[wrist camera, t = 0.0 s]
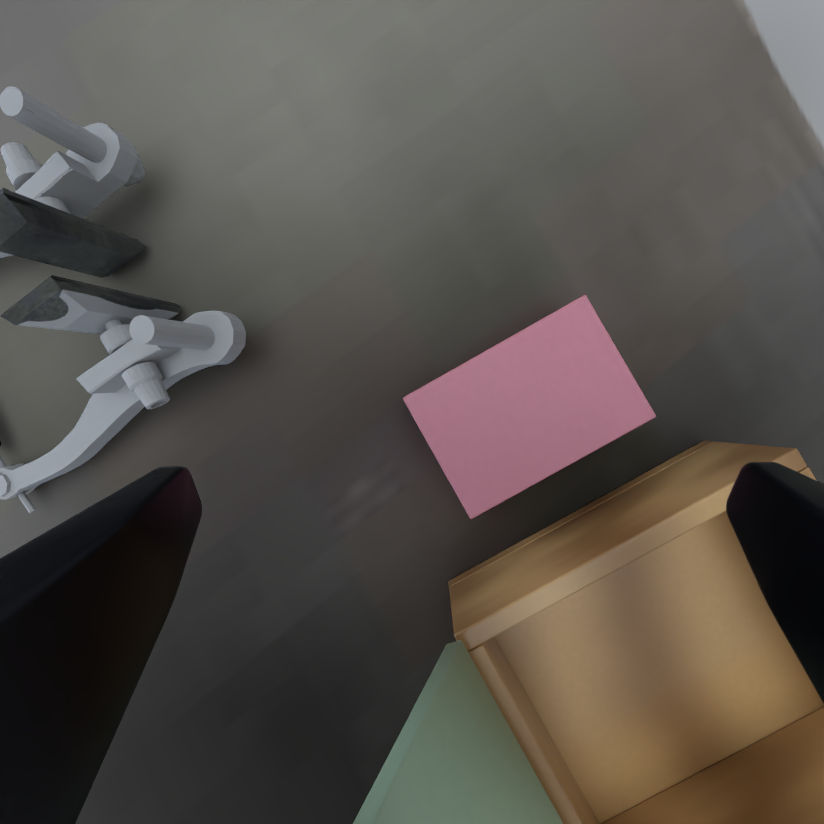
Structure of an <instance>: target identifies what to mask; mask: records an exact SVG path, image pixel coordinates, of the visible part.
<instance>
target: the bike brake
mask: <svg viewBox="0 0 824 824" xmlns="http://www.w3.org/2000/svg"><path fill="white" fill-rule="evenodd" d="M0 107H1V109H2V111H3V112H4V113H5V114H6V115H7V116H9V117H11V118H13V119H15V120H16V121H18V122H20V123H22V124H24V125H26V126H27V127H29V128H31V129H33V130H35V131H36V132H38V133H40V134H42V135H44V136H46V137H47V138H49V139H51V140H53V141H55V142H57V143H58V144H60V145H62V146H64V147H66V148H68V149H69V150H68V151H67V153H66V154H63V153H61V152H59V151H57V152H56V153H55V154H53V155H52V156H51V158H50V159H49V160H48V161H47V162H46V163H45V164H44V165H41V164H40V163H39V162H37V161H36V160H35V159H34V157H33V156H32V154H31V153H30V152H29V150H28V149H27V147H26V146H24V145H23V144H21V143H17V142H10V143H6V144H4V145H3V146H2V147H1V154H2V156H3V158H4V161H5V163H6V165H7V169H6V172H7V175H8V177H9V179H10V181H11V182H12V184H13V186H14V188H15V189H16V190H17V191H15V192H13V191H10V190H8V189H5V188H2V189H1V190H0V258H2V257H7V256H19V257H23V258H27V259H31V260H35V261H39V262H42V263H46V264H50V265H54V266H58V267H62V268H66V269H70V270H74V271H78V272H82V273H86V274H90V275H94V276H98V277H107V276H109V275H110V274H112V273H113V272H114V271H116V270H117V269H118V268H120V267H121V266H122V265H124V264H125V263H126V262H128V261H129V260H130V259H132V258H133V257H134V256H136V255H137V254H138V253H140V252H141V251H142V250H144V249H145V248H146V246H144V245H143V244H142V243H141V242H139V241H138V240H137V239H134V238H132V237H129V236H126V235H124V234H121V233H119V232H116V231H113V230H111V229H108V228H106V227H103V226H101V225H98V224H95V223H93V222H90V221H88V220H85V219H83V218H84V217H85V216H87V215H88V214H89V213H91V212H92V211H93V210H94V209H96V208H97V207H98V206H99V205H100V204H101V203H103V202H104V201H105V200H106V199H107V198H108V197H110V196H111V195H112V194H114V193H115V192H116V191H117V190H119V189H120V188H121V187H122V186H129V185H132V184H134V183H139V182H141V181H142V180H143V178H144V176H145V170H144V167H143V166H142V161H141V159H140V157H139V155H138V154H137V153H136V148H135V147H134V146H133V145H132V144H131V142H130V141H129V140H128V139H127V138H126V137H125V136H123V135H122V134H120V133H119V132H117V131H116V130H114V129H113V128H111V127H110V126H108V125H106V124H103V123H95V124H91V125H88V126H86V127H84V128H83V127H81V126H79V125H78V124H76V123H74V122H73V121H71V120H69V119H68V118H66V117H64V116H63V115H61V114H59V113H58V112H56V111H54V110H53V109H51V108H49V107H48V106H46V105H44V104H43V103H41V102H40V101H38V100H36V99H35V98H33V97H31V96H30V95H28V94H26V93H25V92H23V91H21V90H20V89H18V88H16V87H13V86H12V87H7V88H6V89H5V90H4V91H3V92H2V93H1V97H0ZM179 310H180V306H179V305H177V304H174V303H170V302H166V301H161V300H157V299H153V298H148V297H144V296H140V295H135V294H131V293H127V292H122V291H118V290H113V289H109V288H105V287H100V286H96V285H92V284H87V283H83V282H79V281H74V280H70V279H66V278H61V277H57V276H53V275H52V276H51V277H49V278H48V279H47V280H45V281H44V282H43V283H42V284H40V285H39V286H38V287H36V288H35V289H34V290H33V291H31V292H30V293H29V294H27V295H26V296H25V297H24V298H22V299H21V300H20V301H18V302H17V303H16V304H15V305H13V306H12V307H11V308H9V309H8V310H7V311H5V312H4V313H3V314H2V315H1V317H3V318H5V319H6V320H8V321H10V322H11V323H13V324H14V325H22V326H31V327H40V328H49V329H58V330H68V331H77V332H86V333H96V334H102V335H101V337H100V339H101V341H102V343H103V344H104V346H105V348H106V349H107V351H108V353H110V354H111V355H109V356H108V357H106V358H105V359H104V360H102V361H101V362H99V363H98V364H96V365H95V366H93V367H92V368H90V369H89V370H87V371H86V372H84V373H83V374H82V375H80V376H79V377H77V378H76V379H77V380H78V381H79V383H80V384H81V385H82V386H83V387H84V388H85V389H86V390H87V391H88V392H89V393H91V394H93V395H92V397H91V398H90V400H89V402H88V404H87V406H86V408H85V410H84V412H83V414H82V416H81V417H80V419H79V421H78V422H77V424H76V426H75V428H74V429H73V430H72V431H71V432H70V433H69V434H68V435H67V436H66V437H65V438H64V440H63V441H62V442H61V443H60V444H59V445H57V446H56V447H55V448H54V449H53V450H52V451H50V452H49V453H47V454H45V455H44V456H42V457H40V458H39V459H37V460H35V461H32V462H30V463H28V464H22V463H21V464H14V465H10V466H9V467H7V466H6V464H5V463H4V461H3V460H2V458H1V457H0V499H3V500H4V499H9V498H13V497H15V496H18V497H19V499H20V500H21V502H22V503H23V505H24V506H25V508H26V509H27V511H28V512H29V513H32V512H34V511H36V509H35V507H34V506H33V504H32V503H31V501H30V500H29V498H28V497H27V495H26V494H28V493H30V492H31V491H33V490H34V489H35V488H36V487H37V486H39V485H40V484H42V483H44V482H47V481H49V480H51V479H54V478H56V477H58V476H60V475H63V474H65V473H67V472H69V471H71V470H73V469H75V468H77V467H79V466H81V465H82V464H83V463H85V462H86V461H88V460H89V459H91V458H92V457H93V456H94V455H95V454H96V453H97V452H99V451H100V450H101V449H102V448H103V446H104V445H105V444H106V443H107V442H108V441H110V440H111V439H112V438H113V437H114V436H115V435H116V434H117V433H118V432H119V431H120V430H121V429H122V428H123V427H124V426H125V425H126V424H127V423H128V422H129V421H130V420H131V419H132V418H133V417H134V416H136V415H137V414H138V413H139V412H140V411H141V410H142V409H143V408H144V407H146V409H154V408H157V407H160V406H162V405H164V404H166V403H167V402H168V401H169V400H170V398H169V396H168V393H167V391H166V390H167V389H168V388H169V387H170V386H172V385H173V384H175V383H176V382H177V381H179V380H180V379H182V378H184V377H186V376H188V375H190V374H192V373H194V372H197V371H199V370H201V369H204V368H207V367H210V366H214V365H224V364H229V363H231V362H232V361H234V360H235V359H236V358H237V356H238V355H239V354H240V353H241V351H242V349H243V348H244V346H245V342H246V331H245V328H244V326H243V323H242V321H241V320H240V319H238V318H237V317H236V316H235V315H234V314H231V313H226V312H222V311H202V312H197V313H195V314H193V315H192V316H190V317H189V318H187V319H186V320H184V321H183V322H180V321H174V320H170V319H172V318H173V317H175V316H176V315H177V314H179ZM0 446H1V441H0Z"/></svg>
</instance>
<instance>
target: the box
mask: <svg viewBox="0 0 824 824" xmlns="http://www.w3.org/2000/svg"><path fill="white" fill-rule="evenodd" d="M750 462H775V463H779V464H781V465H784V466H786V467H788V468H790V469H792V470H794V471H797V472H799V473H801V474H803V475H805V476H807V477H810V478H812V479H814V480H816V479H815V477H814V475H813V474H812V472H811V470H810V469H809V468H808V467H807V465H806V463H805V462H804V460H803V458H802V456H801V455H800V453H799V451H798V450H797V449H796V448H786V447H774V446H762V445H750V444H738V443H726V442H714V441H702V442H700V443H699V444H697V445H695V446H693V447H691V448H689V449H688V450H686V451H684V452H682V453H680V454H679V455H677V456H675V457H673V458H671V459H669V460H668V461H666V462H664V463H662V464H660V465H659V466H657V467H655V468H653V469H651V470H649V471H648V472H646V473H644V474H642V475H640V476H639V477H637V478H635V479H633V480H631V481H629V482H628V483H626V484H624V485H622V486H620V487H619V488H617V489H615V490H613V491H611V492H609V493H608V494H606V495H604V496H602V497H600V498H599V499H597V500H595V501H593V502H591V503H589V504H588V505H586V506H584V507H582V508H580V509H579V510H577V511H575V512H573V513H571V514H569V515H568V516H566V517H564V518H562V519H560V520H559V521H557V522H555V523H553V524H551V525H549V526H548V527H546V528H544V529H542V530H540V531H539V532H537V533H535V534H533V535H531V536H529V537H528V538H526V539H524V540H522V541H520V542H519V543H517V544H515V545H513V546H511V547H509V548H508V549H506V550H504V551H502V552H500V553H499V554H497V555H495V556H493V557H491V558H489V559H488V560H486V561H484V562H482V563H480V564H479V565H477V566H475V567H473V568H471V569H469V570H468V571H466V572H464V573H462V574H460V575H459V576H457V577H455V578H453V579H451V580H449V581H448V585H449V593H450V602H451V611H452V620H453V630H454V637H455V639H456V641H459V640H461V641H462V642H463V644H464V646H465V648H466V649H467V651H468V653H469V655H470V657H471V658H472V660H473V662H474V664H475V666H476V667H477V669H478V671H479V673H480V675H481V676H482V678H483V680H484V682H485V684H486V685H487V687H488V689H489V691H490V693H491V694H492V696H493V698H494V700H495V701H496V703H497V705H498V707H499V709H500V710H501V712H502V714H503V716H504V718H505V719H506V721H507V723H508V725H509V727H510V728H511V730H512V732H513V734H514V736H515V737H516V739H517V741H518V743H519V745H520V746H521V748H522V750H523V752H524V754H525V755H526V757H527V759H528V761H529V763H530V764H531V766H532V768H533V770H534V772H535V773H536V775H537V777H538V779H539V781H540V782H541V784H542V786H543V788H544V790H545V791H546V793H547V795H548V797H549V799H550V800H551V802H552V804H553V806H554V807H555V809H556V811H557V813H558V815H559V816H560V818H561V820H562V822H563V824H824V704H823V702H822V700H821V698H820V697H819V695H818V693H817V691H816V690H815V688H814V686H813V684H812V683H811V681H810V679H809V677H808V676H807V674H806V672H805V670H804V669H803V667H802V665H801V663H800V662H799V660H798V658H797V656H796V655H795V653H794V651H793V649H792V648H791V646H790V644H789V642H788V641H787V639H786V637H785V635H784V633H783V632H782V630H781V628H780V626H779V625H778V623H777V621H776V619H775V618H774V616H773V614H772V612H771V610H770V608H769V606H768V605H767V603H766V600H765V598H764V596H763V594H762V592H761V590H760V588H759V586H758V583H757V581H756V579H755V577H754V574H753V572H752V570H751V568H750V565H749V563H748V561H747V559H746V556H745V554H744V552H743V550H742V547H741V545H740V543H739V541H738V538H737V536H736V534H735V532H734V529H733V527H732V525H731V522H730V520H729V518H728V515H727V511H726V502H727V499H728V496H729V494H730V492H731V490H732V487H733V485H734V483H735V481H736V478H737V476H738V474H739V472H740V470H741V468H742V467H743V466H744V465H745V464H747V463H750Z"/></svg>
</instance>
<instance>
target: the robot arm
mask: <svg viewBox="0 0 824 824" xmlns="http://www.w3.org/2000/svg"><path fill="white" fill-rule="evenodd" d="M726 511H727V515H728V518H729V520H730V522H731V525H732V527H733V529H734V532H735V534H736V536H737V538H738V541H739V543H740V545H741V547H742V550H743V552H744V554H745V556H746V559H747V561H748V563H749V565H750V568H751V570H752V572H753V574H754V577H755V579H756V581H757V583H758V586H759V588H760V590H761V592H762V594H763V596H764V598H765V600H766V603H767V605H768V606H769V608H770V610H771V612H772V614H773V616H774V618H775V619H776V621H777V623H778V625H779V626H780V628H781V630H782V632H783V633H784V635H785V637H786V639H787V641H788V642H789V644H790V646H791V648H792V649H793V651H794V653H795V655H796V656H797V658H798V660H799V662H800V663H801V665H802V667H803V669H804V670H805V672H806V674H807V676H808V677H809V679H810V681H811V683H812V684H813V686H814V688H815V690H816V691H817V693H818V695H819V697H820V698H821V700H822V702H823V704H824V484H823V483H821V482H818V481H816V480H814V479H812V478H810V477H807V476H805V475H803V474H801V473H799V472H797V471H794V470H792V469H790V468H788V467H786V466H784V465H781V464H779V463H775V462H750V463H747V464H745V465H744V466H743V467H742V468H741V470H740V472H739V474H738V476H737V478H736V481H735V483H734V485H733V487H732V490H731V492H730V494H729V496H728V499H727V502H726ZM201 515H202V504H201V500H200V498H199V495H198V492H197V490H196V487H195V484H194V481H193V479H192V476H191V474H190V472H189V470H188V469H187V468H185V467H182V466H164V467H159V468H157V469H155V470H153V471H151V472H150V473H148V474H146V475H145V476H143V477H141V478H139V479H138V480H136V481H134V482H132V483H131V484H129V485H127V486H125V487H124V488H122V489H120V490H118V491H117V492H115V493H113V494H112V495H110V496H108V497H106V498H105V499H103V500H101V501H99V502H98V503H96V504H94V505H92V506H91V507H89V508H87V509H85V510H84V511H82V512H80V513H79V514H77V515H75V516H73V517H72V518H70V519H68V520H66V521H65V522H63V523H61V524H59V525H58V526H56V527H54V528H52V529H51V530H49V531H47V532H46V533H44V534H42V535H40V536H39V537H37V538H35V539H33V540H32V541H30V542H28V543H26V544H25V545H23V546H21V547H20V548H18V549H16V550H14V551H13V552H11V553H9V554H7V555H6V556H4V557H2V558H0V824H75V823H76V820H77V818H78V816H79V814H80V811H81V809H82V807H83V805H84V802H85V800H86V798H87V796H88V793H89V791H90V789H91V787H92V784H93V782H94V780H95V778H96V775H97V773H98V771H99V769H100V766H101V764H102V762H103V760H104V757H105V755H106V753H107V751H108V748H109V746H110V744H111V742H112V739H113V737H114V735H115V733H116V730H117V728H118V726H119V724H120V721H121V719H122V717H123V715H124V712H125V710H126V708H127V705H128V703H129V701H130V699H131V696H132V694H133V692H134V690H135V687H136V685H137V683H138V681H139V678H140V676H141V674H142V672H143V669H144V667H145V665H146V663H147V660H148V658H149V656H150V654H151V651H152V649H153V647H154V645H155V642H156V640H157V638H158V636H159V633H160V631H161V629H162V627H163V624H164V622H165V620H166V618H167V615H168V613H169V611H170V608H171V606H172V603H173V601H174V598H175V595H176V593H177V590H178V587H179V584H180V581H181V578H182V575H183V572H184V569H185V565H186V562H187V559H188V556H189V553H190V550H191V547H192V544H193V541H194V538H195V535H196V531H197V528H198V525H199V522H200V519H201Z"/></svg>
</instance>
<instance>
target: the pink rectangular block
mask: <svg viewBox="0 0 824 824" xmlns="http://www.w3.org/2000/svg"><path fill="white" fill-rule="evenodd" d="M403 400H404V402H405V404H406V406H407V407H408V409H409V411H410V413H411V414H412V416H413V418H414V420H415V422H416V423H417V425H418V427H419V429H420V430H421V432H422V434H423V436H424V438H425V439H426V441H427V443H428V445H429V446H430V448H431V450H432V452H433V454H434V455H435V457H436V459H437V461H438V462H439V464H440V466H441V468H442V470H443V471H444V473H445V475H446V477H447V478H448V480H449V482H450V484H451V486H452V487H453V489H454V491H455V493H456V494H457V496H458V498H459V500H460V502H461V503H462V505H463V507H464V509H465V510H466V512H467V514H468V516H469V518H470V519H473V518H475V517H476V516H478V515H480V514H482V513H484V512H485V511H487V510H489V509H491V508H493V507H494V506H496V505H498V504H500V503H502V502H503V501H505V500H507V499H509V498H511V497H512V496H514V495H516V494H518V493H520V492H522V491H523V490H525V489H527V488H529V487H531V486H532V485H534V484H536V483H538V482H540V481H541V480H543V479H545V478H547V477H549V476H550V475H552V474H554V473H556V472H558V471H559V470H561V469H563V468H565V467H567V466H568V465H570V464H572V463H574V462H576V461H578V460H579V459H581V458H583V457H585V456H587V455H588V454H590V453H592V452H594V451H596V450H597V449H599V448H601V447H603V446H605V445H606V444H608V443H610V442H612V441H614V440H615V439H617V438H619V437H621V436H623V435H624V434H626V433H628V432H630V431H632V430H634V429H635V428H637V427H639V426H641V425H643V424H644V423H646V422H648V421H650V420H652V419H653V418H655V417H656V415H655V413H654V411H653V410H652V408H651V406H650V405H649V403H648V401H647V399H646V398H645V396H644V394H643V393H642V391H641V389H640V387H639V386H638V384H637V382H636V381H635V379H634V377H633V375H632V374H631V372H630V370H629V368H628V367H627V365H626V363H625V362H624V360H623V358H622V356H621V355H620V353H619V351H618V350H617V348H616V346H615V344H614V343H613V341H612V339H611V338H610V336H609V334H608V332H607V331H606V329H605V327H604V326H603V324H602V322H601V320H600V319H599V317H598V315H597V313H596V312H595V310H594V308H593V307H592V305H591V303H590V301H589V300H588V298H587V296H586V295H584V296H582V297H580V298H578V299H576V300H575V301H573V302H571V303H569V304H568V305H566V306H564V307H562V308H561V309H559V310H557V311H555V312H553V313H552V314H550V315H548V316H546V317H545V318H543V319H541V320H539V321H538V322H536V323H534V324H532V325H530V326H529V327H527V328H525V329H523V330H522V331H520V332H518V333H516V334H515V335H513V336H511V337H509V338H507V339H506V340H504V341H502V342H500V343H499V344H497V345H495V346H493V347H492V348H490V349H488V350H486V351H484V352H483V353H481V354H479V355H477V356H476V357H474V358H472V359H470V360H469V361H467V362H465V363H463V364H461V365H460V366H458V367H456V368H454V369H453V370H451V371H449V372H447V373H446V374H444V375H442V376H440V377H438V378H437V379H435V380H433V381H431V382H430V383H428V384H426V385H424V386H423V387H421V388H419V389H417V390H416V391H414V392H412V393H410V394H408V395H407V396H405V397H403Z"/></svg>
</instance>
